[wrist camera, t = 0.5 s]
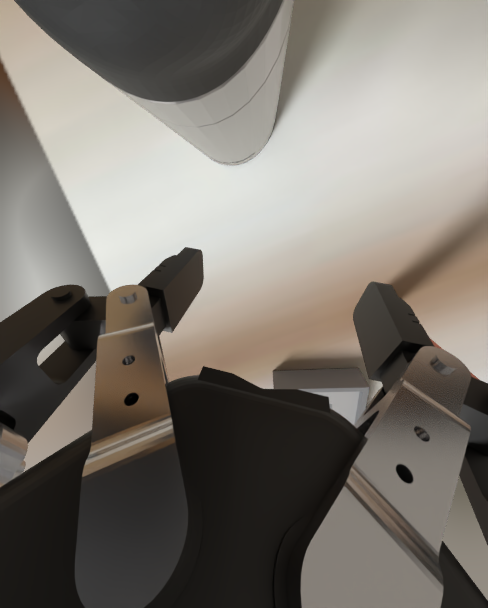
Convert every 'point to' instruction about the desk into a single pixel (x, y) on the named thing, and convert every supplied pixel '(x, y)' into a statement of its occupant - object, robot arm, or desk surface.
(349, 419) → the grey square hole base
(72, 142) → the desk surface
